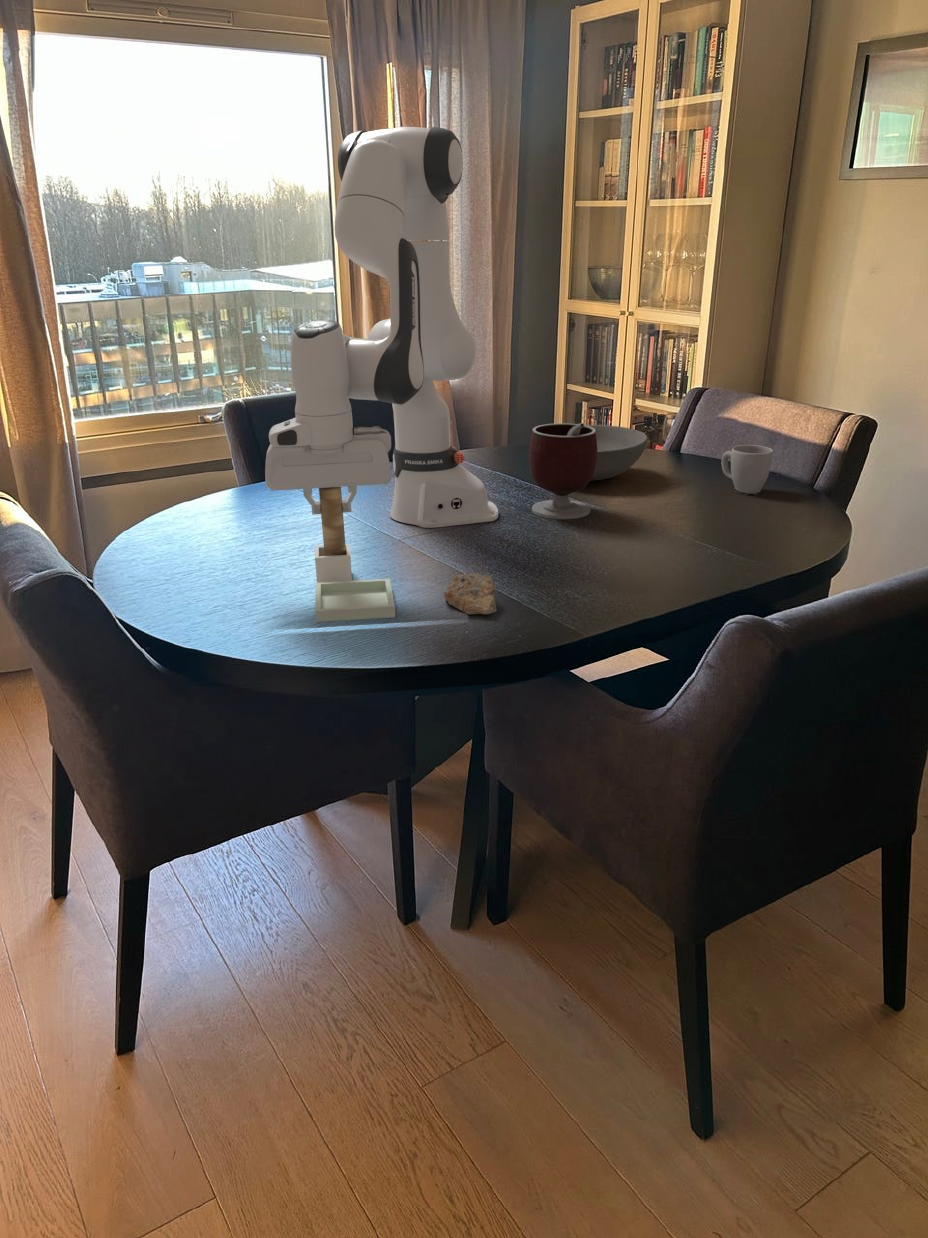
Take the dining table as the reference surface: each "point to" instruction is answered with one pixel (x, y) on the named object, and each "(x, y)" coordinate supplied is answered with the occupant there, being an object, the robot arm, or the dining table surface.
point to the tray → (354, 600)
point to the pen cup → (332, 566)
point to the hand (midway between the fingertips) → (331, 512)
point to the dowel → (332, 521)
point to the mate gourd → (562, 466)
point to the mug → (748, 466)
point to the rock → (472, 593)
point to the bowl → (616, 449)
